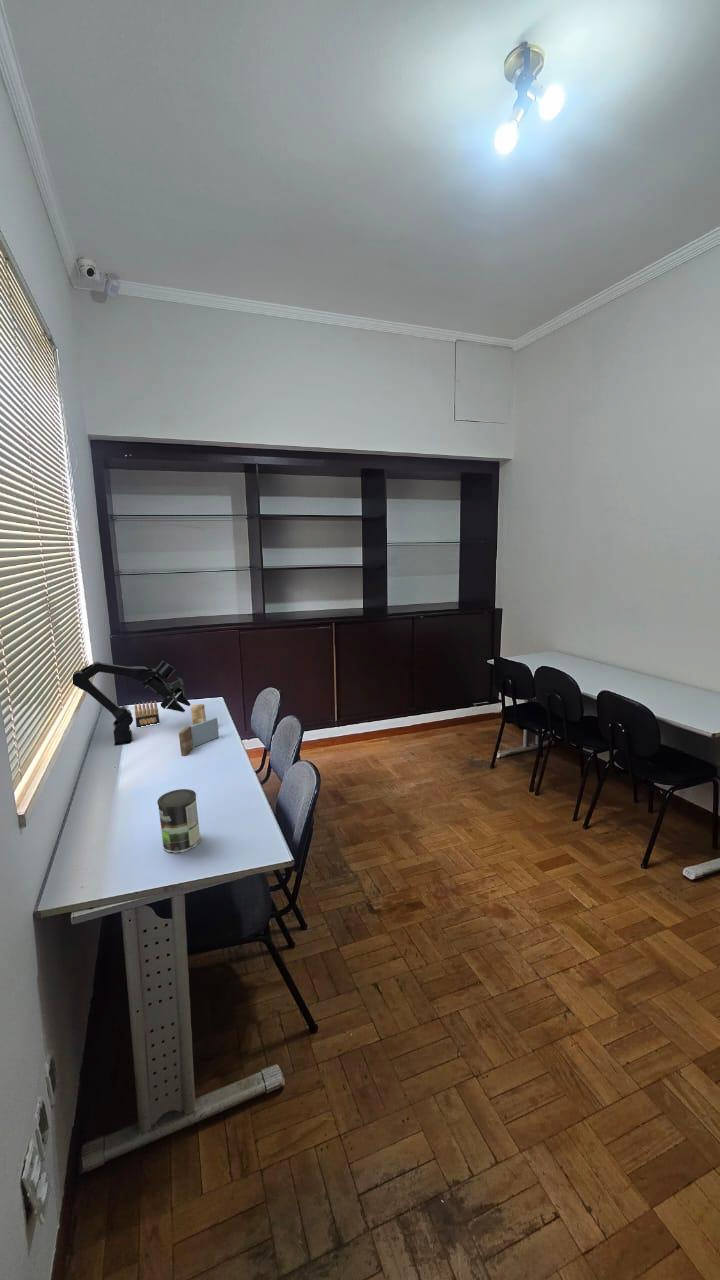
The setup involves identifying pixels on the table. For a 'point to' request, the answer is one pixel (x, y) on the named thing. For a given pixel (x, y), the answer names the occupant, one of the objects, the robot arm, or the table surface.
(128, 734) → the robot arm
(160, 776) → the table surface
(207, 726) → the door
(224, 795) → the table surface
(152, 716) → the ammunition clip
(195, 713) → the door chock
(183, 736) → the partition wall
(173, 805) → the coffee can
